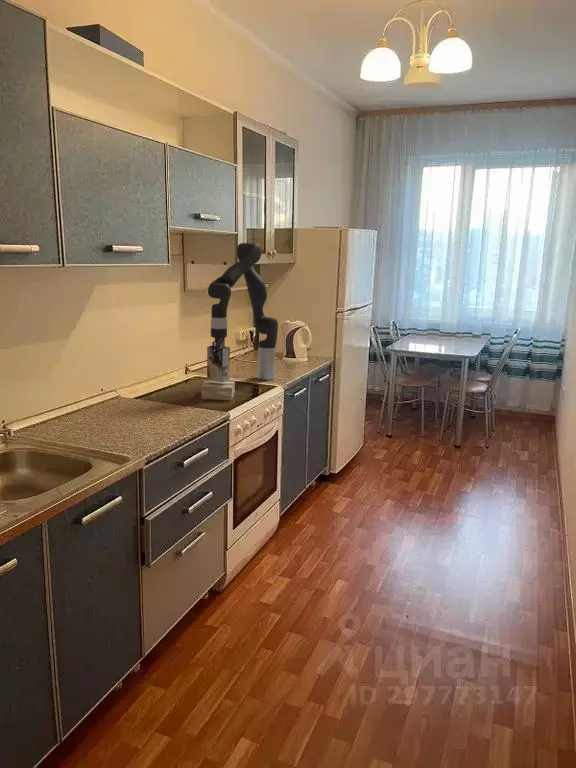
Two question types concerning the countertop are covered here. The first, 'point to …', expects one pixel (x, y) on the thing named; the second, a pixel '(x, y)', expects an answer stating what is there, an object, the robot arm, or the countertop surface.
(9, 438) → the countertop surface
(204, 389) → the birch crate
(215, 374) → the coffee box
